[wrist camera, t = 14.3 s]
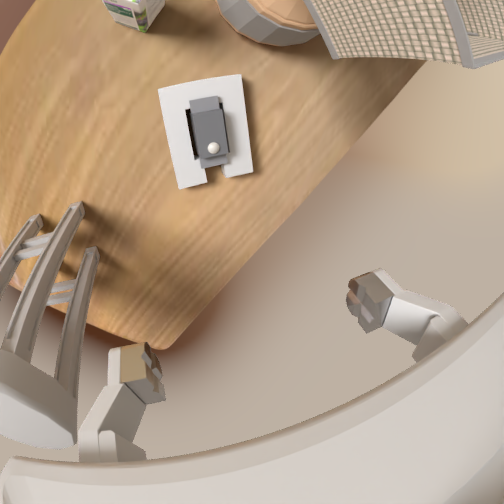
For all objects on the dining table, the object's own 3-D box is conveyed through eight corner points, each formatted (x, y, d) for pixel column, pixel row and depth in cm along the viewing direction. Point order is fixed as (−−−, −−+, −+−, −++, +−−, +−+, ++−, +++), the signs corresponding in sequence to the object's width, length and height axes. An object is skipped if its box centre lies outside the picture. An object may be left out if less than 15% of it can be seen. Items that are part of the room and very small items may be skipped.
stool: (19, 209, 35) (-77, 371, 7) (89, 186, 38) (5, 378, 10) (48, 277, 43) (8, 444, 16) (113, 263, 47) (103, 452, 19)
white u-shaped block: (158, 89, 34) (157, 89, 31) (235, 75, 36) (241, 74, 33) (178, 183, 43) (179, 189, 41) (247, 167, 45) (253, 172, 43)
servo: (186, 100, 36) (190, 101, 31) (212, 95, 37) (220, 95, 32) (198, 162, 42) (203, 172, 37) (222, 156, 43) (230, 166, 38)
